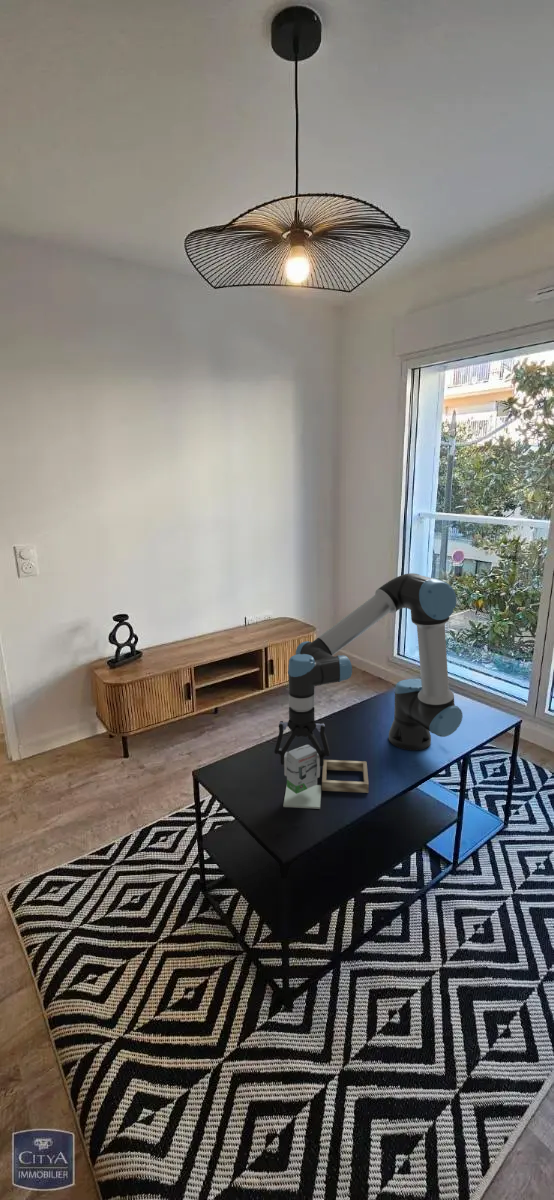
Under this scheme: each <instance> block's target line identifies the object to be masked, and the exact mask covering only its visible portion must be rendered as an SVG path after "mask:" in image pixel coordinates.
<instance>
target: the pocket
mask: <svg viewBox="0 0 554 1200" xmlns="http://www.w3.org/2000/svg"><path fill="white" fill-rule="evenodd" d="M367 764H368V763H367V761H365V760H363V761H360V760H342V759H341V760H339V759H324V765H323V766H322V775H321V777H322V778H321V792H322V791H323V792H324V791H326V792H345V793H346V792H347V793H362V794H363V793H364V794H365V793H367V794H368V793H369V789H370V788H369V785H370V784H369V776H368V775H369V774H368V765H367ZM327 771H344V772H345V771H349V772H350V771H351V772H362V776H363V778H362V780H363V781H356V780H355V781H354V780H334V779H333V780H331V779H327V775H328V773H327Z"/></svg>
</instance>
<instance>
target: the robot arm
mask: <svg viewBox="0 0 554 1200" xmlns="http://www.w3.org/2000/svg"><path fill="white" fill-rule="evenodd" d="M455 592H456V591H455V590H454V587H452V586H451V584H449V583H447V582H446V581H443V580H441V579H439V578H434V577H433V578H432V577H429V576H426V575H420V574H418V573H414V572H413V573H412V572H411V573H404V574H402V575H399V576H396V577H395V578H392V579H391V580H388V582H386V583H384V584H383V585H382V586H380V587H378V588H377V589H376V590H375V592H374V595H373V596H371V598H369V599H368V600H366V601H365V602H364V603H362V604H361V605H360V606H358V607H357V608H356V609H355V610H353V611H352V612H350V613H348V615H347V616H345V617H343V618H342V619H341V620H340V621H339V622H337V623H335V624H334V625H333V626H332V627H330V628H329V629H328V630H326V631H325V632H324V633H323V634H321V635H320V636H318V637H317V638H315V639H314V640H313V641H308V640H307V641H302V642H300V643H299V644H298V646H297V647H296V649H295V654H294V655H291V656H290V658H289V660H288V669H287V676H288V677H287V678H288V706H289V707H288V721H283V720H280V721H279V723H278V730H279V731H278V735H277V739H276V744H275V748H274V754H276V755H279V756H280V765H281V766H284V769H283V770H284V771H283V772H284V773H283V774H284V776H285V777H287V753H288V752H289V751H288V750H289V748H290V746H291V744H292V742H293V741H294V740H295V737H299V738H300V737H303V738H304V737H306V738H308V740H310V742H311V744H312V747H313V748H314V749H315V750H316V751H317V778H320V776H321V767H323V765H324V760H325V759H324V758H325V757H329V756H330V754H331V752H330V751H331V750H330V747H329V743H328V739H327V735H326V732H325V730H326V724H325V722H321V723H318V722H317V721H316V720H315V687H318V686H322V685H328V684H334V683H340V682H343V681H347V680H349V679H350V678H351V677H352V673H353V665H352V662H351V660H350V659H349V657H348V656H346V655H342V654H341V655H339V654H337V653H338V652H339V651H341V650H342V649H343V648H345V647H347V645H350V644H351V642H353V641H354V640H355V639H357V638H358V637H359V636H361V635H362V634H364V633H365V632H366V631H367V630H369V629H370V628H371V627H372V626H374V625H375V624H377V623H378V622H380V620H382V619H383V618H384V617H386V616H387V615H388V614H395V613H396V612H397V611H400V610H402V609H408V610H410V616H411V617H410V619H411V622H412V623H413V624H414V625H415V626H416V631H417V632H416V633H417V644H418V658H419V668H420V669H419V670H420V671H419V672H420V679H415V678H410V679H409V678H408V679H403V680H399V681H398V682H397V683H396V684H395V689H394V707H393V708H394V713H393V715H394V716H393V721H392V723H391V726H390V729H389V731H388V741H389V742H390V743H391V744H392V745H393V746H394V747H396V748H398V749H401V750H406V751H422V750H425V749H427V748H429V747H430V746H431V743H432V735H431V734H434V735H436V736H437V737H441V738H445V737H449V736H451V735H452V734H454V733H455V732H456V731H457V730H458V729H459V727H460V726H461V724H462V721H463V711H462V709H461V708H460V706H458V705H455V695H454V692H453V691H452V690H451V689H450V688H449V674H448V657H447V641H446V623H448V622H449V621H450V617H451V616H452V614H453V613H454V609H455V608H456V606H457V595H456V593H455ZM335 654H337V655H335ZM334 655H335V656H334ZM287 728H288V729H289V730H290V732H289V735H288V737H287V739H286V740H285V742H284V744H283V745H282V747H281V744H282V740H283V736H284V732H285V730H286V729H287ZM315 729H317V731H318V732H319V736H320V739H321V743H322V746H321V744H320V743H319V740H318V739H317V738H316V735H315V732H314V730H315ZM322 747H323V748H322Z"/></svg>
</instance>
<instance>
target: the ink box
mask: <svg viewBox="0 0 554 1200" xmlns="http://www.w3.org/2000/svg"><path fill="white" fill-rule="evenodd" d="M287 752H288V753H287V776H286V786H287V787H288V788H289V789H290V790H292V791H293V792H295V793H296V794H297V793H300V792H302V791H304V790H306V789H308V788H310V787H312V786H315V785H318V777H317V751H316V749H315V748H314V746H311V745H310V744H305V745H302V746H299V747H296V748H294V749H291V750H288V751H287Z"/></svg>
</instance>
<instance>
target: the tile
mask: <svg viewBox="0 0 554 1200" xmlns="http://www.w3.org/2000/svg"><path fill="white" fill-rule="evenodd" d="M321 799H322V784H317V785H315V786H312V787H310V788H308V789H306V790H304V791H302V792H300V793H297V794H296V793H295V792H293V791H292V790H290V789H289V788H288V787H287V785H286V786H285V794H284V800H283V804H282V805H283V808H295V809H296V808H297V809H298V808H299V809H315V810H316V809H317V810H321V802H322V801H321Z"/></svg>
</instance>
